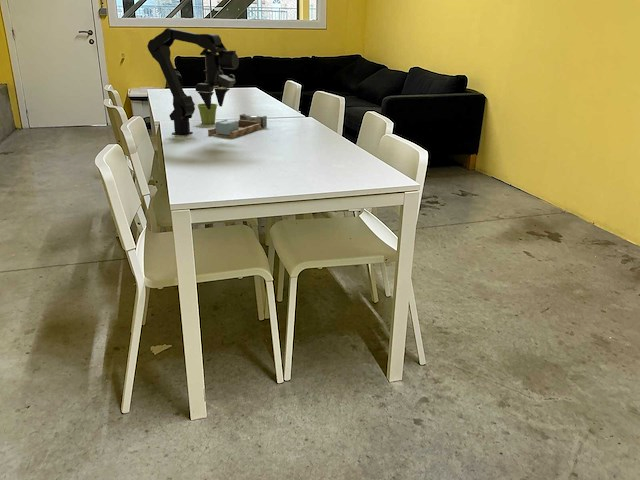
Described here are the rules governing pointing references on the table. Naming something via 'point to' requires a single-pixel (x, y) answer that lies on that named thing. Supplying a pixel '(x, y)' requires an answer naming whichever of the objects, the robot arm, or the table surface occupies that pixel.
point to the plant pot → (207, 113)
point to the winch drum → (255, 119)
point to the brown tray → (243, 129)
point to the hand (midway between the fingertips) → (215, 107)
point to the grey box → (226, 127)
